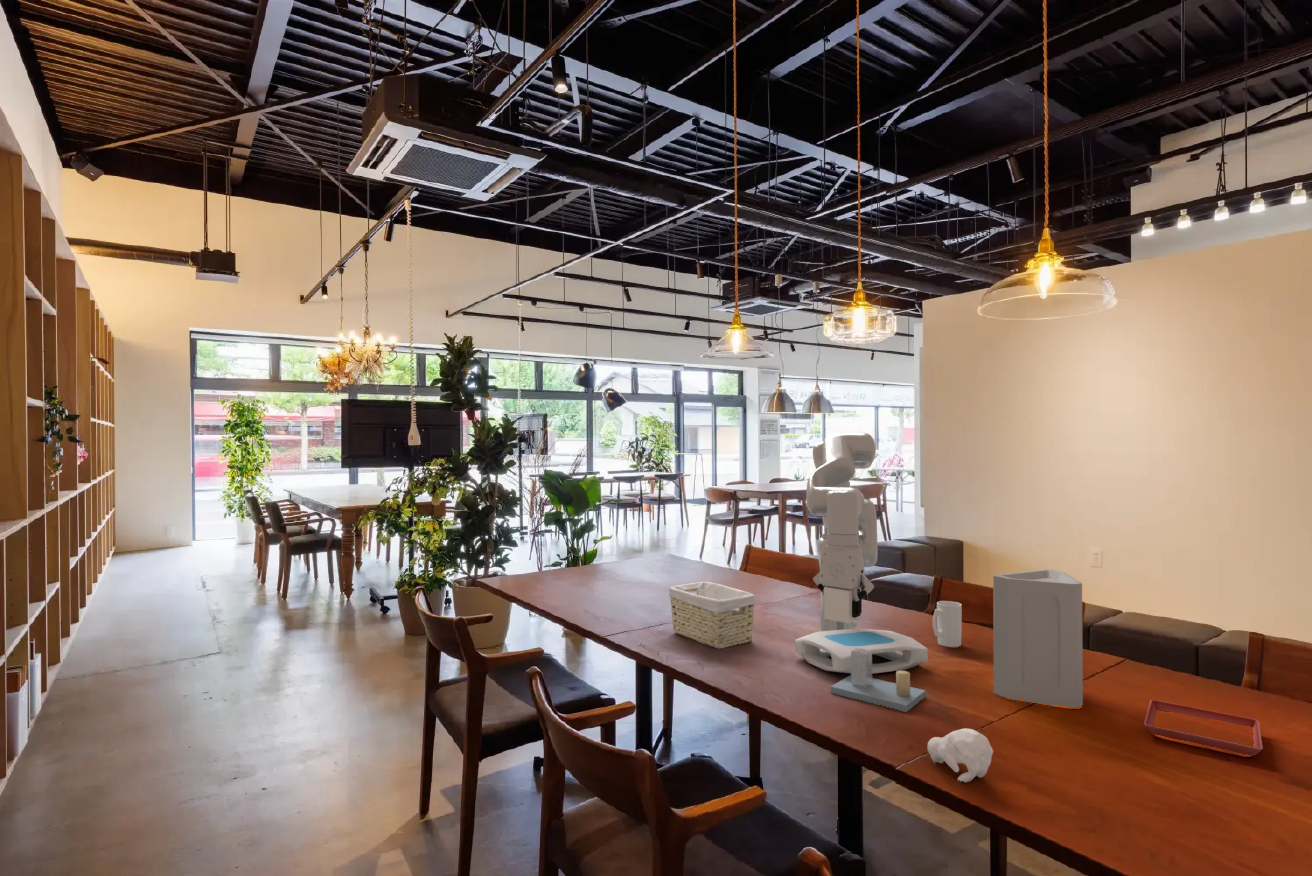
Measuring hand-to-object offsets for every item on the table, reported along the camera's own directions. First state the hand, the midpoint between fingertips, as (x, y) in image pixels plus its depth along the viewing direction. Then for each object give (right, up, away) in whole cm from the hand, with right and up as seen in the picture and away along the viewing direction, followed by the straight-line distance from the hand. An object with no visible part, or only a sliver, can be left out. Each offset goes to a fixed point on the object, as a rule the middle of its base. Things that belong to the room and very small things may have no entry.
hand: (842, 613), depth 167 cm
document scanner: (+9, -18, +17) cm, 27 cm away
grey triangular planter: (+46, -18, -7) cm, 50 cm away
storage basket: (-29, -19, +42) cm, 54 cm away
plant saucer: (+65, -18, -28) cm, 73 cm away
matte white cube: (0, -1, 0) cm, 1 cm away
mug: (+39, -18, +34) cm, 55 cm away
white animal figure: (+9, -18, -43) cm, 47 cm away
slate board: (+7, -18, -5) cm, 20 cm away
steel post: (+4, -16, -3) cm, 17 cm away
